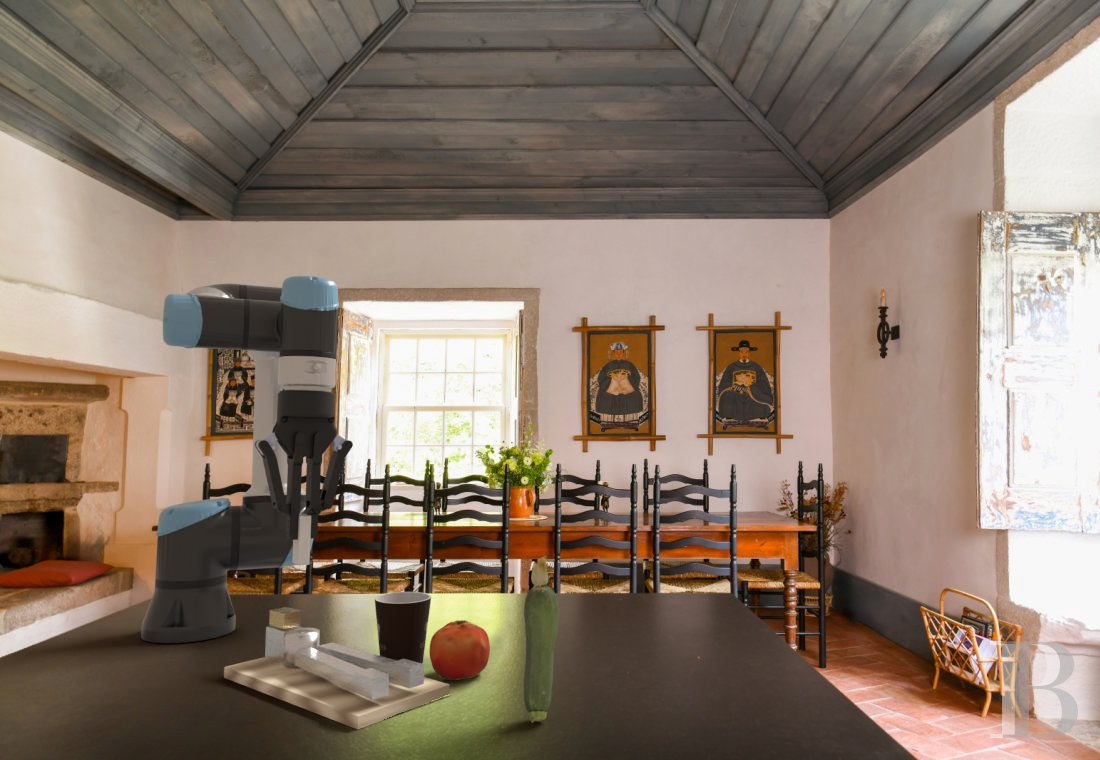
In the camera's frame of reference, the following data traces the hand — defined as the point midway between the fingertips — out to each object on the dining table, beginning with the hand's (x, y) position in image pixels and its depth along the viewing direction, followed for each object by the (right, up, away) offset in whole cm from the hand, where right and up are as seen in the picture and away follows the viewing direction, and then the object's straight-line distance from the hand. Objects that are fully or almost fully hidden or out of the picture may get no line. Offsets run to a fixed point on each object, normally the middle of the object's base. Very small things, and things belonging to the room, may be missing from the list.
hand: (300, 563), depth 100 cm
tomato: (+21, -19, +8) cm, 29 cm away
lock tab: (-6, -12, +12) cm, 18 cm away
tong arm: (+6, -15, -2) cm, 16 cm away
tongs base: (+4, -17, +4) cm, 17 cm away
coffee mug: (+11, -19, +15) cm, 27 cm away
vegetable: (+33, -17, -9) cm, 38 cm away
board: (+3, -18, +3) cm, 18 cm away
